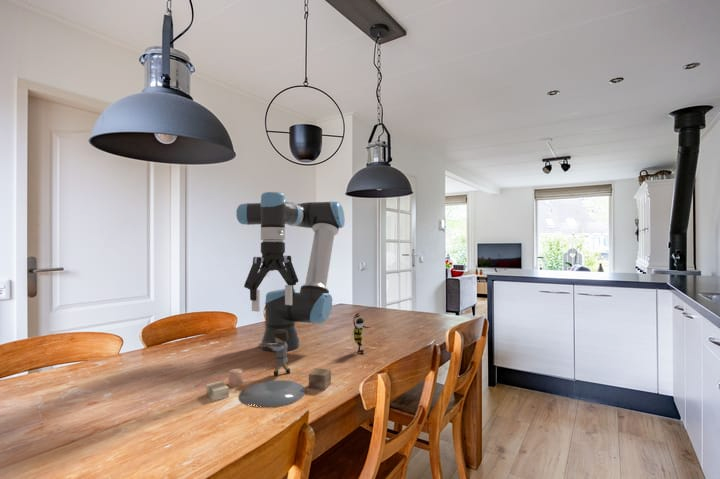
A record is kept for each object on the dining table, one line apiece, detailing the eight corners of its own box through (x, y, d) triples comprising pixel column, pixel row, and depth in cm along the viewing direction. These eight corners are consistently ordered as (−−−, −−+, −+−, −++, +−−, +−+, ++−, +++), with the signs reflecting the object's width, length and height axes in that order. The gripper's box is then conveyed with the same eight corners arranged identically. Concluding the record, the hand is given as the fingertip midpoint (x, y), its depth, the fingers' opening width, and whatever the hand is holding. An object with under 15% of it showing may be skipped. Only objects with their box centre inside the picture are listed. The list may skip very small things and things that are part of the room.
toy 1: (264, 372, 123) (264, 327, 123) (292, 374, 121) (291, 328, 121) (253, 381, 115) (253, 332, 115) (283, 383, 114) (282, 334, 114)
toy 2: (370, 355, 140) (370, 315, 140) (350, 355, 140) (350, 315, 140) (370, 350, 147) (370, 312, 147) (351, 350, 147) (351, 312, 147)
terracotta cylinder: (225, 388, 110) (225, 371, 110) (237, 384, 113) (237, 367, 113) (233, 391, 107) (233, 374, 107) (245, 387, 111) (245, 370, 111)
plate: (225, 400, 102) (225, 395, 102) (275, 379, 116) (275, 376, 116) (269, 418, 91) (269, 413, 91) (318, 393, 106) (318, 389, 106)
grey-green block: (206, 398, 103) (206, 384, 103) (220, 394, 106) (220, 380, 106) (213, 406, 98) (213, 391, 98) (228, 401, 101) (228, 387, 101)
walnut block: (308, 391, 108) (308, 374, 108) (315, 384, 112) (315, 368, 113) (325, 393, 106) (324, 375, 106) (331, 386, 111) (330, 369, 111)
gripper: (248, 241, 106) (248, 315, 106) (308, 241, 126) (308, 303, 126) (232, 241, 110) (231, 312, 110) (293, 241, 131) (293, 301, 130)
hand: (272, 307), depth 118 cm, fingers open, 13 cm apart
